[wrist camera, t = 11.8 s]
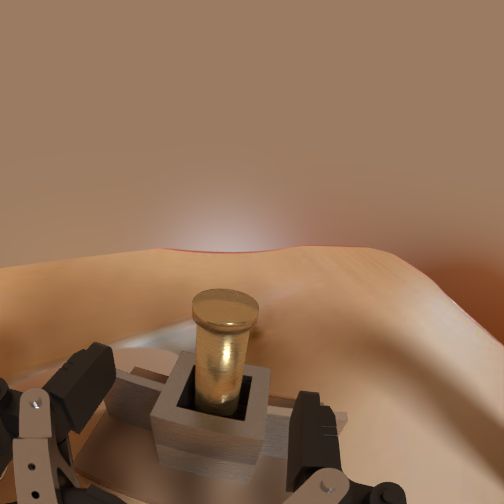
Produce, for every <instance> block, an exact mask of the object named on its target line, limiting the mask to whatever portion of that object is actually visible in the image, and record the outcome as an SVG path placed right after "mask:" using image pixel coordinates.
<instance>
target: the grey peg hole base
mask: <svg viewBox="0 0 504 504" xmlns="http://www.w3.org/2000/svg"><path fill="white" fill-rule="evenodd" d="M130 374H133V375H136V376H139V377H142V378H146V379H149V380H152V381H156V382H159V383H163V384H166V382H167V380H168V378H169V376H165V375H162V374H158V373H155V372H151V371H148V370H145V369H141V368H138V367H134V369H133V370H132V372H131V373H130ZM295 402H296V400H289V399H281V398H274V397H268V406H275V407H283V408H292V409H293V408H294V405H295ZM320 405H323V406H324V403H320ZM287 459H288V458H279V457H270V456H262V455H259V457H258V460H257V463H256V465H255V468H254V471H253V474H252V477H251V479H250V482H249V484H245V483H239V482H233V481H227V480H221V479H216V478H211V477H207V476H202V475H198V474H194V473H189V472H186V471H182V470H178V469H174V468H171V467H167V466H164V465H161V464H160V463H159V458H158V454H157V449H156V445H155V440H154V435H153V431H150V430H147V429H144V428H141V427H138V426H135V425H132V424H129V423H127V422H124V421H121V420H119V419H116V418H114V417H111V416H109V415H108V412H107V410H106V411H105V413H104V415H103V416H102V418H101V419H100V421H99V422H98V424H97V425H96V427H95V429H94V430H93V432H92V433H91V435H90V437H89V438H88V440H87V441H86V443H85V445H84V446H83V448H82V449H81V451H80V453H79V454H78V456H77V458H76V459H75V461H74V462H73V464H74V469H75V470H76V471H77V473H79V474H81V475H83V476H85V477H87V478H89V479H91V480H93V481H95V482H97V483H99V484H101V485H103V486H106V487H108V488H110V489H113V490H115V491H117V492H120V493H122V494H125V495H127V496H130V497H132V498H135V499H138V500H140V501H143V502H146V503H149V504H282V503H283V502H285V501H286V500H287V499H288V498H289V497H290V496H291V495H292V494H293V492H286V477H287Z"/></svg>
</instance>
